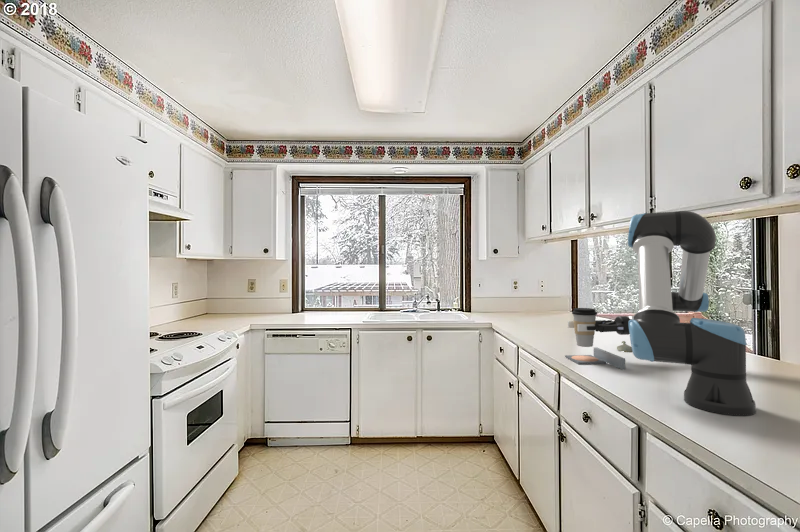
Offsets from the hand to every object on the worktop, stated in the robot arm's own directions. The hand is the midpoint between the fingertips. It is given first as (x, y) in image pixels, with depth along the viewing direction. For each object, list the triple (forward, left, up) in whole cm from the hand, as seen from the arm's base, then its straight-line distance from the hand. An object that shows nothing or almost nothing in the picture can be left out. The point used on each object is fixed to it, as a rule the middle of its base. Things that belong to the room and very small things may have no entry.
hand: (572, 326), depth 157 cm
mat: (0, -5, -14) cm, 15 cm away
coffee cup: (0, -5, -8) cm, 9 cm away
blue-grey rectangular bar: (-4, -12, -14) cm, 19 cm away
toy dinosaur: (+24, -35, -15) cm, 45 cm away
